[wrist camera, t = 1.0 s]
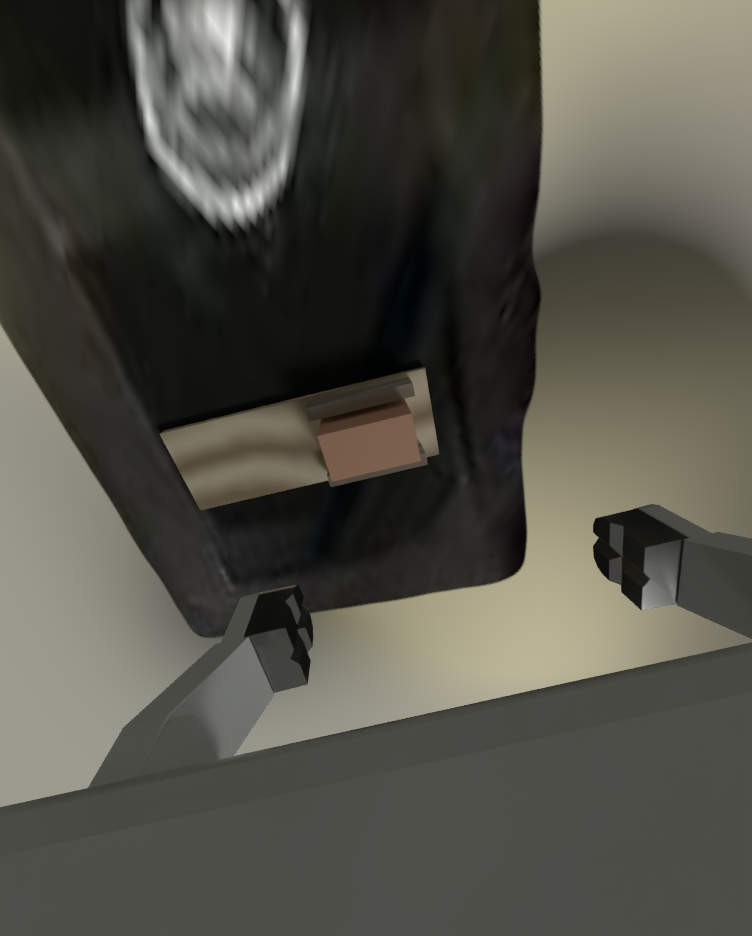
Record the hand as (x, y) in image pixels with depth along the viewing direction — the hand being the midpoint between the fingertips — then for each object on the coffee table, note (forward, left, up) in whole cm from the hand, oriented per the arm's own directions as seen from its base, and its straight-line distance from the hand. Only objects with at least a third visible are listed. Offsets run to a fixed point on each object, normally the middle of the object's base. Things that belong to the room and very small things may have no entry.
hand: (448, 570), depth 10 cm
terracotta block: (+7, -3, -33) cm, 34 cm away
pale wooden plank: (+7, -11, -35) cm, 37 cm away
